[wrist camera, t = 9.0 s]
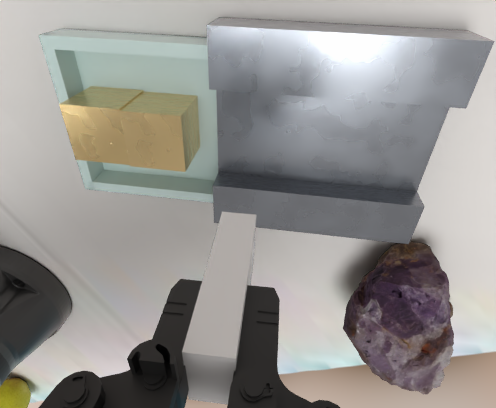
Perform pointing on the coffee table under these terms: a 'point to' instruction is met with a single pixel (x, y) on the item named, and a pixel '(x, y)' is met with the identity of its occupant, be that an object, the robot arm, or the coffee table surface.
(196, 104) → the brass block
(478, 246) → the coffee table surface
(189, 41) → the tray
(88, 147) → the brass block
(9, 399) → the fruit
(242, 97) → the rail
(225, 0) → the coffee table surface
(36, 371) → the coffee table surface
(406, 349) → the rock
